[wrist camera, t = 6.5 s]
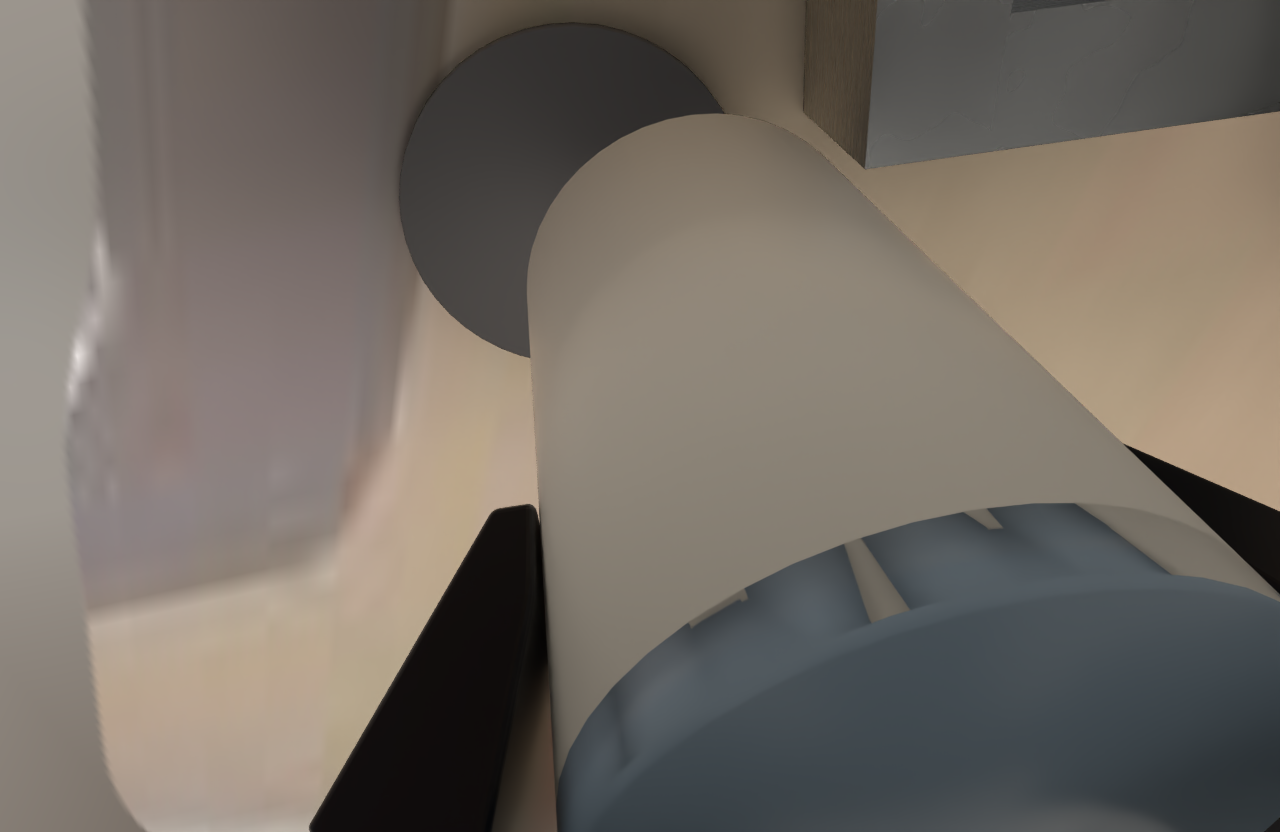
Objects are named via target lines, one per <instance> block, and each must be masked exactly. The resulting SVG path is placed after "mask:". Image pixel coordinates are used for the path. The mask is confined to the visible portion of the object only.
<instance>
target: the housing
mask: <svg viewBox="0 0 1280 832" xmlns="http://www.w3.org/2000/svg"><path fill="white" fill-rule="evenodd" d="M1277 111H1280V0H807V3H806V40H805V77H804V113H805V114H806V115H807V116H808V117H809V118H810V119H811V120H813V121H814V122H815V123H816V124H817V125H818V126H819V127H820V128H821V129H822V130H823V131H824V132H825V133H827V134H828V135H829V136H830V137H831V138H832V139H833V140H834V141H835V142H836V143H837V144H838V145H839V146H841V147H842V148H843V149H844V150H845V151H846V152H847V153H848V154H849V155H850V156H851V157H852V158H853V159H855V160H856V161H857V162H858V163H859V164H860V165H861V166H862V167H863V168H864V169H870V168H877V167H885V166H892V165H899V164H906V163H913V162H920V161H927V160H935V159H942V158H949V157H956V156H963V155H970V154H977V153H985V152H992V151H999V150H1006V149H1013V148H1020V147H1027V146H1035V145H1042V144H1049V143H1056V142H1063V141H1070V140H1077V139H1085V138H1092V137H1099V136H1106V135H1113V134H1120V133H1127V132H1135V131H1142V130H1149V129H1156V128H1163V127H1170V126H1177V125H1185V124H1192V123H1199V122H1206V121H1213V120H1220V119H1227V118H1235V117H1242V116H1249V115H1256V114H1263V113H1270V112H1277Z"/></svg>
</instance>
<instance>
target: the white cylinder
mask: <svg viewBox="0 0 1280 832" xmlns="http://www.w3.org/2000/svg"><path fill="white" fill-rule="evenodd" d="M527 305H528V323H529V340H530V358H531V376H532V393H533V411H534V429H535V446H536V464H537V481H538V499H539V517H540V534H541V552H542V570H543V587H544V605H545V623H546V640H547V658H548V676H549V693H550V711H551V728H552V746H553V764H554V781H555V799H556V817H557V832H1264V831H1265V830H1266V829H1267V828H1269V827H1270V826H1271V825H1272V824H1273V823H1274V822H1275V821H1276V820H1277V819H1279V818H1280V594H1279V593H1278V592H1277V591H1276V590H1275V589H1274V588H1273V587H1272V586H1270V585H1269V584H1268V583H1267V582H1266V581H1265V580H1264V579H1263V578H1262V577H1261V576H1260V575H1259V574H1258V573H1257V572H1256V571H1255V570H1254V569H1253V568H1252V567H1251V566H1250V565H1249V564H1248V563H1247V562H1245V561H1244V560H1243V559H1242V558H1241V557H1240V556H1239V555H1238V554H1237V553H1236V552H1235V551H1234V550H1233V549H1232V548H1231V547H1230V546H1229V545H1228V544H1227V543H1226V542H1225V541H1224V540H1223V539H1222V538H1220V537H1219V536H1218V535H1217V534H1216V533H1215V532H1214V531H1213V530H1212V529H1211V528H1210V527H1209V526H1208V525H1207V524H1206V523H1205V522H1204V521H1203V520H1202V519H1201V518H1200V517H1199V516H1198V515H1197V514H1196V513H1194V512H1193V511H1192V510H1191V509H1190V508H1189V507H1188V506H1187V505H1186V504H1185V503H1184V502H1183V501H1182V500H1181V499H1180V498H1179V497H1178V496H1177V495H1176V494H1175V493H1174V492H1173V491H1172V490H1171V489H1169V488H1168V487H1167V486H1166V485H1165V484H1164V483H1163V482H1162V481H1161V480H1160V479H1159V478H1158V477H1157V476H1156V475H1155V474H1154V473H1153V472H1152V471H1151V470H1150V469H1149V468H1148V467H1147V466H1146V465H1144V464H1143V463H1142V462H1141V461H1140V460H1139V459H1138V458H1137V457H1136V456H1135V455H1134V454H1133V453H1132V452H1131V451H1130V450H1129V449H1128V448H1127V447H1126V446H1125V445H1124V444H1123V443H1122V442H1121V441H1119V440H1118V439H1117V438H1116V437H1115V436H1114V435H1113V434H1112V433H1111V432H1110V431H1109V430H1108V429H1107V428H1106V427H1105V426H1104V425H1103V424H1102V423H1101V422H1100V421H1099V420H1098V419H1097V418H1096V417H1095V416H1093V415H1092V414H1091V413H1090V412H1089V411H1088V410H1087V409H1086V408H1085V407H1084V406H1083V405H1082V404H1081V403H1080V402H1079V401H1078V400H1077V399H1076V398H1075V397H1074V396H1073V395H1072V394H1071V393H1070V392H1068V391H1067V390H1066V389H1065V388H1064V387H1063V386H1062V385H1061V384H1060V383H1059V382H1058V381H1057V380H1056V379H1055V378H1054V377H1053V376H1052V375H1051V374H1050V373H1049V372H1048V371H1047V370H1046V369H1045V368H1043V367H1042V366H1041V365H1040V364H1039V363H1038V362H1037V361H1036V360H1035V359H1034V358H1033V357H1032V356H1031V355H1030V354H1029V353H1028V352H1027V351H1026V350H1025V349H1024V348H1023V347H1022V346H1021V345H1020V344H1018V343H1017V342H1016V341H1015V340H1014V339H1013V338H1012V337H1011V336H1010V335H1009V334H1008V333H1007V332H1006V331H1005V330H1004V329H1003V328H1002V327H1001V326H1000V325H999V324H998V323H997V322H996V321H995V320H994V319H992V318H991V317H990V316H989V315H988V314H987V313H986V312H985V311H984V310H983V309H982V308H981V307H980V306H979V305H978V304H977V303H976V302H975V301H974V300H973V299H972V298H971V297H970V296H969V295H967V294H966V293H965V292H964V291H963V290H962V289H961V288H960V287H959V286H958V285H957V284H956V283H955V282H954V281H953V280H952V279H951V278H950V277H949V276H948V275H947V274H946V273H945V272H944V271H942V270H941V269H940V268H939V267H938V266H937V265H936V264H935V263H934V262H933V261H932V260H931V259H930V258H929V257H928V256H927V255H926V254H925V253H924V252H923V251H922V250H921V249H920V248H919V247H917V246H916V245H915V244H914V243H913V242H912V241H911V240H910V239H909V238H908V237H907V236H906V235H905V234H904V233H903V232H902V231H901V230H900V229H899V228H898V227H897V226H896V225H895V224H894V223H893V222H891V221H890V220H889V219H888V218H887V217H886V216H885V215H884V214H883V213H882V212H881V211H880V210H879V209H878V208H877V207H876V206H875V205H874V204H873V203H872V202H871V201H870V200H869V199H868V198H866V197H865V196H864V195H863V194H862V193H861V192H860V191H859V190H858V189H857V188H856V187H855V186H854V185H853V184H852V183H851V182H850V181H849V180H848V179H847V178H846V177H845V176H844V175H843V174H841V173H840V172H839V171H838V170H837V169H836V168H835V167H834V166H833V165H832V164H831V163H830V162H829V161H828V160H827V159H826V158H825V157H824V156H823V155H822V154H820V153H819V152H818V151H817V150H816V149H814V148H813V147H812V146H811V145H809V144H808V143H807V142H806V141H804V140H803V139H801V138H799V137H798V136H796V135H794V134H792V133H791V132H789V131H787V130H785V129H783V128H780V127H778V126H776V125H773V124H771V123H768V122H766V121H762V120H758V119H754V118H749V117H745V116H740V115H729V114H718V113H717V114H696V115H688V116H683V117H677V118H672V119H667V120H664V121H661V122H658V123H655V124H652V125H649V126H646V127H643V128H641V129H639V130H637V131H634V132H632V133H630V134H628V135H626V136H624V137H622V138H620V139H618V140H617V141H615V142H614V143H612V144H611V145H609V146H608V147H606V148H605V149H603V150H602V151H600V152H599V153H597V154H596V155H595V156H594V157H593V158H591V159H590V160H589V161H588V162H587V163H586V164H584V165H583V166H582V167H581V168H580V169H579V170H578V171H577V172H576V173H575V174H574V175H573V177H572V178H571V179H570V180H569V181H568V182H567V183H566V184H565V185H564V187H563V188H562V189H561V191H560V192H559V194H558V195H557V197H556V198H555V200H554V201H553V202H552V204H551V205H550V207H549V209H548V211H547V213H546V215H545V217H544V219H543V221H542V223H541V225H540V227H539V229H538V232H537V235H536V238H535V241H534V244H533V247H532V250H531V255H530V261H529V266H528V274H527Z"/></svg>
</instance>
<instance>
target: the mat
mask: <svg viewBox="0 0 1280 832" xmlns="http://www.w3.org/2000/svg"><path fill="white" fill-rule="evenodd" d="M717 113H718V114H724V112H723V111H722V109H721V107H720V106H719V105H718V103H717V102H716V100H715V99H714V98H713V96H712V95H711V94H710V92H709V91H708V90H707V88H706V87H705V86H704V84H703V83H702V82H701V81H700V80H699V79H698V78H697V77H696V76H695V75H694V74H693V73H692V72H691V71H690V70H689V69H688V68H687V67H686V66H685V65H684V64H683V63H681V62H680V61H679V60H677V59H676V58H675V57H674V56H672V55H671V54H670V53H668V52H667V51H665V50H664V49H662V48H660V47H658V46H657V45H655V44H653V43H651V42H650V41H648V40H646V39H643V38H641V37H638V36H636V35H633V34H631V33H628V32H626V31H623V30H619V29H615V28H610V27H606V26H602V25H596V24H584V23H558V24H546V25H541V26H537V27H532V28H527V29H523V30H520V31H517V32H515V33H512V34H509V35H506V36H504V37H501V38H499V39H497V40H495V41H493V42H491V43H490V44H488V45H486V46H484V47H482V48H480V49H479V50H477V51H476V52H474V53H473V54H472V55H470V56H469V57H468V58H466V59H465V60H464V61H462V62H461V63H460V64H459V65H458V66H457V67H456V68H455V69H454V70H453V71H452V72H451V73H450V74H449V75H448V76H447V77H446V78H445V79H444V80H443V81H442V82H441V83H440V84H439V86H438V87H437V88H436V90H435V91H434V92H433V94H432V95H431V96H430V98H429V99H428V101H427V102H426V104H425V106H424V108H423V110H422V112H421V114H420V115H419V117H418V119H417V121H416V124H415V126H414V129H413V132H412V135H411V137H410V140H409V143H408V146H407V148H406V151H405V156H404V161H403V165H402V170H401V177H400V193H399V200H400V213H401V222H402V226H403V231H404V235H405V240H406V243H407V246H408V249H409V251H410V254H411V257H412V259H413V262H414V264H415V266H416V268H417V270H418V272H419V273H420V275H421V277H422V279H423V281H424V282H425V284H426V285H427V287H428V288H429V290H430V291H431V292H432V294H433V295H434V297H435V298H436V299H437V300H438V301H439V303H440V304H441V305H442V306H443V307H444V308H445V309H446V310H447V311H448V312H449V314H450V315H452V316H453V317H454V318H455V319H456V320H457V321H459V322H460V323H461V324H462V325H463V326H464V327H466V328H467V329H469V330H470V331H472V332H473V333H475V334H476V335H478V336H479V337H480V338H482V339H484V340H486V341H488V342H490V343H492V344H493V345H495V346H497V347H499V348H501V349H504V350H507V351H509V352H512V353H515V354H517V355H520V356H524V357H528V358H530V340H529V323H528V305H527V274H528V266H529V261H530V255H531V250H532V247H533V244H534V241H535V238H536V235H537V232H538V229H539V227H540V225H541V223H542V221H543V219H544V217H545V215H546V213H547V211H548V209H549V207H550V205H551V204H552V202H553V201H554V200H555V198H556V197H557V195H558V194H559V192H560V191H561V189H562V188H563V187H564V185H565V184H566V183H567V182H568V181H569V180H570V179H571V178H572V177H573V175H574V174H575V173H576V172H577V171H578V170H579V169H580V168H581V167H582V166H583V165H584V164H586V163H587V162H588V161H589V160H590V159H591V158H593V157H594V156H595V155H596V154H597V153H599V152H600V151H602V150H603V149H605V148H606V147H608V146H609V145H611V144H612V143H614V142H615V141H617V140H618V139H620V138H622V137H624V136H626V135H628V134H630V133H632V132H634V131H637V130H639V129H641V128H643V127H646V126H649V125H652V124H655V123H658V122H661V121H664V120H667V119H672V118H677V117H683V116H688V115H696V114H717Z"/></svg>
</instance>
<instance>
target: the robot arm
mask: <svg viewBox="0 0 1280 832" xmlns="http://www.w3.org/2000/svg"><path fill="white" fill-rule="evenodd" d="M1124 445H1125V444H1124ZM1125 446H1126V447H1127V448H1128V449H1129V450H1130V451H1131V452H1132V453H1133V454H1134V455H1135V456H1136V457H1137V458H1138V459H1139V460H1140V461H1141V462H1142V463H1143V464H1144V465H1146V466H1147V467H1148V468H1149V469H1150V470H1151V471H1152V472H1153V473H1154V474H1155V475H1156V476H1157V477H1158V478H1159V479H1160V480H1161V481H1162V482H1163V483H1164V484H1165V485H1166V486H1167V487H1168V488H1169V489H1171V490H1172V491H1173V492H1174V493H1175V494H1176V495H1177V496H1178V497H1179V498H1180V499H1181V500H1182V501H1183V502H1184V503H1185V504H1186V505H1187V506H1188V507H1189V508H1190V509H1191V510H1192V511H1193V512H1194V513H1196V514H1197V515H1198V516H1199V517H1200V518H1201V519H1202V520H1203V521H1204V522H1205V523H1206V524H1207V525H1208V526H1209V527H1210V528H1211V529H1212V530H1213V531H1214V532H1215V533H1216V534H1217V535H1218V536H1219V537H1220V538H1222V539H1223V540H1224V541H1225V542H1226V543H1227V544H1228V545H1229V546H1230V547H1231V548H1232V549H1233V550H1234V551H1235V552H1236V553H1237V554H1238V555H1239V556H1240V557H1241V558H1242V559H1243V560H1244V561H1245V562H1247V563H1248V564H1249V565H1250V566H1251V567H1252V568H1253V569H1254V570H1255V571H1256V572H1257V573H1258V574H1259V575H1260V576H1261V577H1262V578H1263V579H1264V580H1265V581H1266V582H1267V583H1268V584H1269V585H1270V586H1272V587H1273V588H1274V589H1275V590H1276V591H1277V592H1278V593H1279V594H1280V511H1277V510H1275V509H1273V508H1271V507H1268V506H1266V505H1264V504H1261V503H1259V502H1257V501H1254V500H1252V499H1250V498H1247V497H1245V496H1243V495H1241V494H1238V493H1236V492H1234V491H1231V490H1229V489H1227V488H1224V487H1222V486H1220V485H1217V484H1215V483H1213V482H1211V481H1208V480H1206V479H1204V478H1201V477H1199V476H1197V475H1194V474H1192V473H1190V472H1188V471H1185V470H1183V469H1181V468H1178V467H1176V466H1174V465H1171V464H1169V463H1167V462H1164V461H1162V460H1160V459H1158V458H1155V457H1153V456H1151V455H1148V454H1146V453H1144V452H1141V451H1139V450H1137V449H1134V448H1132V447H1130V446H1128V445H1125ZM309 831H310V832H557V817H556V799H555V781H554V764H553V746H552V728H551V711H550V693H549V676H548V658H547V640H546V623H545V605H544V587H543V570H542V552H541V534H540V523H539V519H538V514H537V511H536V509H535V507H534V506H533V505H531V504H525V505H518V506H511V507H505V508H499V509H496V510H494V511H493V512H492V513H491V514H490V515H489V517H488V519H487V520H486V522H485V524H484V526H483V527H482V529H481V531H480V532H479V534H478V536H477V538H476V539H475V541H474V543H473V545H472V546H471V548H470V550H469V551H468V553H467V555H466V557H465V558H464V560H463V562H462V563H461V565H460V567H459V569H458V570H457V572H456V574H455V576H454V577H453V579H452V581H451V582H450V584H449V586H448V588H447V589H446V591H445V593H444V594H443V596H442V598H441V600H440V601H439V603H438V605H437V607H436V608H435V610H434V612H433V613H432V615H431V617H430V619H429V620H428V622H427V624H426V625H425V627H424V629H423V631H422V632H421V634H420V636H419V637H418V639H417V641H416V643H415V644H414V646H413V648H412V650H411V651H410V653H409V655H408V656H407V658H406V660H405V662H404V663H403V665H402V667H401V668H400V670H399V672H398V674H397V675H396V677H395V679H394V680H393V682H392V684H391V686H390V687H389V689H388V691H387V693H386V694H385V696H384V698H383V699H382V701H381V703H380V705H379V706H378V708H377V710H376V711H375V713H374V715H373V717H372V718H371V720H370V722H369V724H368V725H367V727H366V729H365V730H364V732H363V734H362V736H361V737H360V739H359V741H358V742H357V744H356V746H355V748H354V749H353V751H352V753H351V754H350V756H349V758H348V760H347V761H346V763H345V765H344V767H343V768H342V770H341V772H340V773H339V775H338V777H337V779H336V780H335V782H334V784H333V785H332V787H331V789H330V791H329V792H328V794H327V796H326V797H325V799H324V801H323V803H322V804H321V806H320V808H319V810H318V811H317V813H316V815H315V816H314V818H313V820H312V822H311V823H310V825H309ZM1264 832H1280V818H1279V819H1277V820H1276V821H1275V822H1274V823H1273V824H1272V825H1271V826H1270V827H1269V828H1267V829H1266V830H1265V831H1264Z"/></svg>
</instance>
